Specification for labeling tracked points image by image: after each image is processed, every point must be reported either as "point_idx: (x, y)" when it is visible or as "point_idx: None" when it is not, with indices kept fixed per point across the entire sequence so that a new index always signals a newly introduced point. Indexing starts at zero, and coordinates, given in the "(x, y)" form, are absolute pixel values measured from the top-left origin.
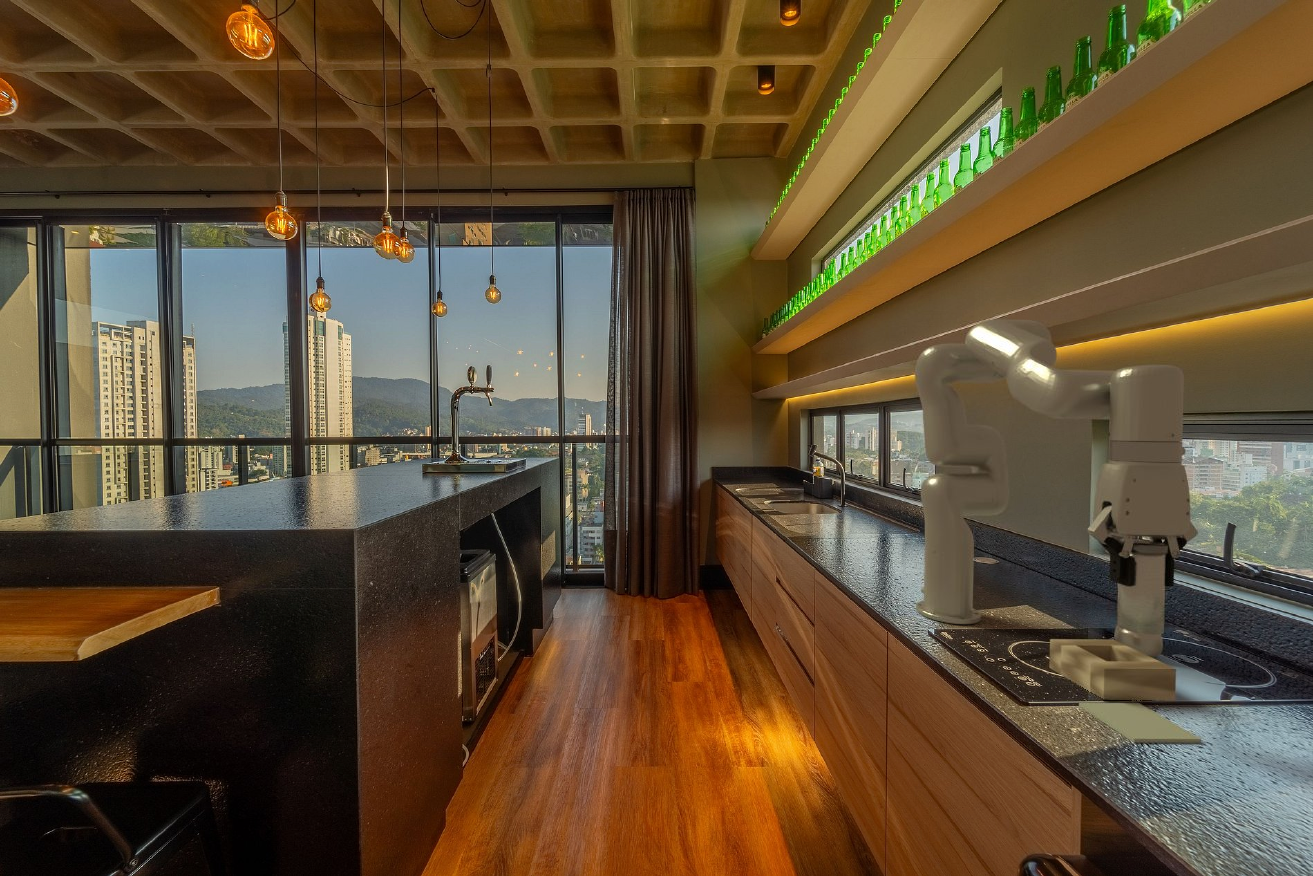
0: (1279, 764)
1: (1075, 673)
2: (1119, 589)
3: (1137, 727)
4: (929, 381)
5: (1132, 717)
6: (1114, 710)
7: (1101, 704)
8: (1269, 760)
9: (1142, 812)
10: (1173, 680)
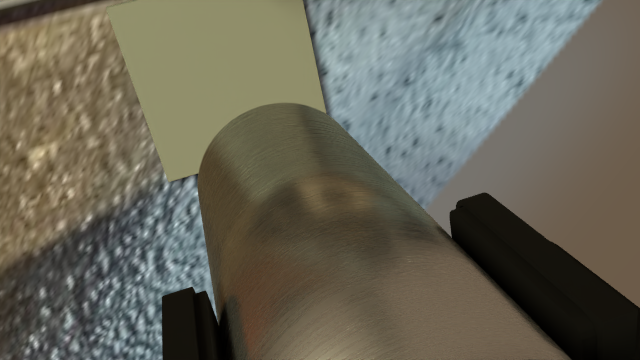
0: (424, 173)
1: None
2: (214, 272)
3: (207, 122)
4: None
5: (224, 66)
6: (194, 35)
7: (174, 2)
8: (417, 163)
9: None
10: None
